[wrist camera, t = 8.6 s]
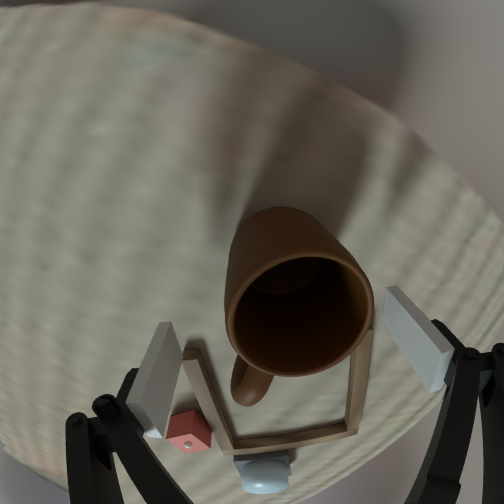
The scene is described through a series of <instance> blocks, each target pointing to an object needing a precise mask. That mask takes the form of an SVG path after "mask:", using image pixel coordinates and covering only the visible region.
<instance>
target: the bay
mask: <svg viewBox="0 0 504 504" xmlns="http://www.w3.org/2000/svg"><path fill="white" fill-rule="evenodd" d="M372 335H373V329H372V327H371V326H370V327H369V329H368V331H367V334H366V335H365V337H364V338H363V340H362V342H361V343H360V344H359V345H358V347H357V348H356V349H355V350H354V351H353V352H352V353H351V357H350V371H349V383H348V393H347V403H346V412H345V420H344V423H340V424H336V425H332V426H328V427H323V428H318V429H313V430H308V431H303V432H297V433H292V434H285V435H279V436H271V437H264V438H255V439H245V440H233V438H232V435H231V433H230V430H229V428H228V426H227V423H226V421H225V418H224V416H223V413H222V411H221V408H220V405H219V403H218V400H217V398H216V395H215V392H214V390H213V387H212V384H211V381H210V379H209V376H208V373H207V370H206V367H205V365H204V362H203V359H202V356H201V353H200V350H199V349H191V350H183V359H182V365H183V367H184V370H185V372H186V375H187V377H188V379H189V382H190V384H191V386H192V389H193V391H194V393H195V396H196V398H197V400H198V402H199V405H200V407H201V409H202V411H203V413H204V416H205V418H206V420H207V422H208V424H209V426H210V428H211V430H212V432H213V434H214V436H215V438H216V440H217V442H218V444H219V446H220V448H221V450H222V452H223V454H224V456H226V455H242V454H253V453H263V452H271V451H278V450H285V449H292V448H298V447H303V446H309V445H314V444H319V443H323V442H328V441H332V440H336V439H341V438H345V437H348V436H352V435H356V434H357V433H358V428H359V423H360V418H361V413H362V408H363V402H364V396H365V390H366V384H367V377H368V370H369V362H370V354H371V345H372Z"/></svg>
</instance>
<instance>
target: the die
mask: <svg viewBox="0 0 504 504" xmlns="http://www.w3.org/2000/svg"><path fill="white" fill-rule="evenodd" d="M211 434H212V430H211V428H210V426H209V424H208V422H207V420H206V419H205V418H204V417H202V416H201V415H200V414H199V413H198V412H197V411H196V410H195V409H194V410H190V411H187V412H184V413H180V414H176V415H173V416H170V421H169V426H168V431H167V436H166V440H168V441H169V442H170V443H172V444H173V445H174V446H176V447H177V448H179V449H180V450H181V451H183V452H184V453H191V452H196V451H201V450H205V449H210V448H211Z"/></svg>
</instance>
